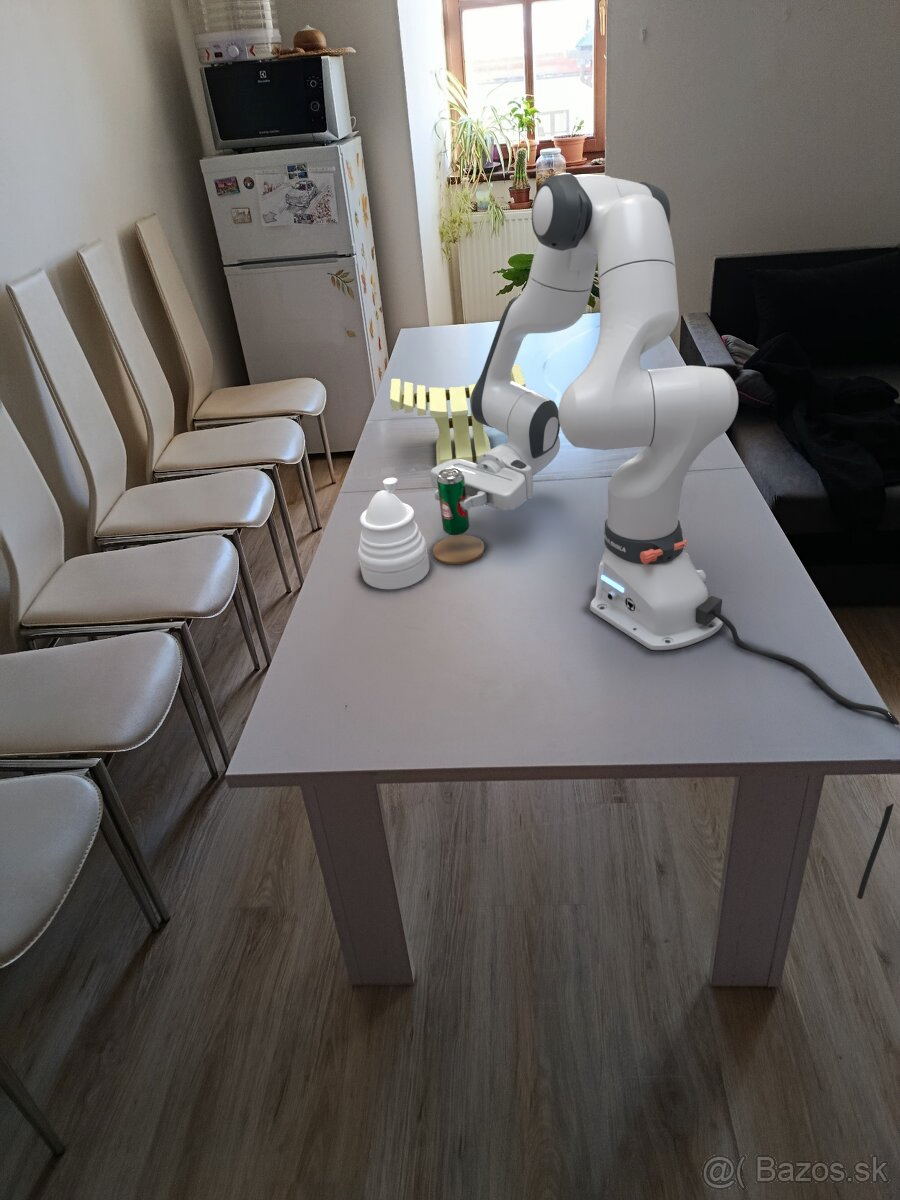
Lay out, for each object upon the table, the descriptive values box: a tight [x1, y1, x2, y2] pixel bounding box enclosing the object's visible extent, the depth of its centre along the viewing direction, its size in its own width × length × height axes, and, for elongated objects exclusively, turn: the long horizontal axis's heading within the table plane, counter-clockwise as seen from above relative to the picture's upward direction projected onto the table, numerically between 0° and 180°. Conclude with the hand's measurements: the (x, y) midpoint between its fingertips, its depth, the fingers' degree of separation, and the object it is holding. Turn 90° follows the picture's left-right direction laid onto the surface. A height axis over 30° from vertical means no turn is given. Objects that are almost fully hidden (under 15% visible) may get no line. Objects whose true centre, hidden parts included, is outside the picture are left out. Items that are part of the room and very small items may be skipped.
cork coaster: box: [432, 534, 485, 566], centre depth 153 cm, size 10×10×1 cm
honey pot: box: [357, 477, 430, 590], centre depth 145 cm, size 13×13×18 cm
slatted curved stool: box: [389, 363, 527, 466], centre depth 186 cm, size 30×16×18 cm, turn 92°
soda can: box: [437, 468, 470, 536], centre depth 148 cm, size 5×5×12 cm
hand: (449, 501), depth 147 cm, fingers closed on soda can, 5 cm apart
